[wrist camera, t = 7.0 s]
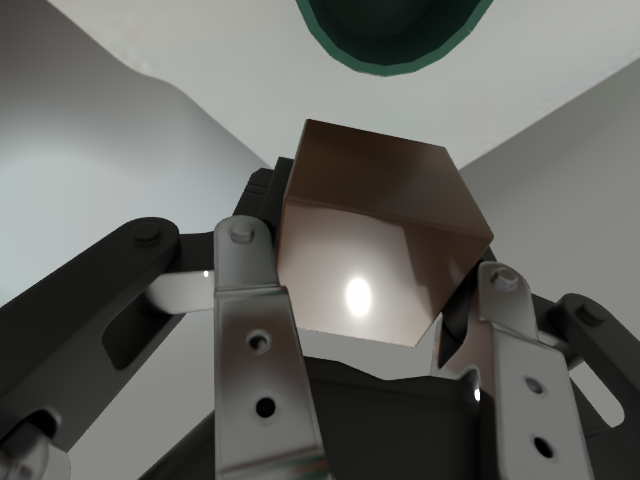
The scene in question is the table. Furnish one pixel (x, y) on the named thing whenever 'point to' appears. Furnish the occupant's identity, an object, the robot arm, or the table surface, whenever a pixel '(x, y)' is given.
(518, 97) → the table surface
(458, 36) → the tin
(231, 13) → the table surface
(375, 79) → the table surface
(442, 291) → the block
